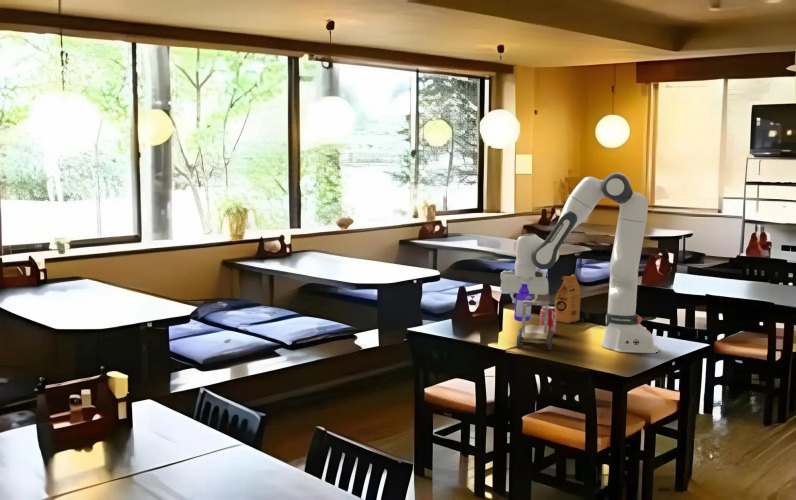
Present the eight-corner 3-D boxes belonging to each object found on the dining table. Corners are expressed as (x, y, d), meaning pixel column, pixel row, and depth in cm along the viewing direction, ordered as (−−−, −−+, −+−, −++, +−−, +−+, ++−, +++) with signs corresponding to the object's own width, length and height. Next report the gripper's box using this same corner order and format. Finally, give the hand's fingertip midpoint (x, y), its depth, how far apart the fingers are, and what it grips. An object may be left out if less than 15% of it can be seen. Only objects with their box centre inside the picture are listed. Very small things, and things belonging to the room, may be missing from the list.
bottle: (521, 322, 332) (525, 282, 330) (511, 319, 336) (514, 279, 334) (532, 321, 337) (536, 281, 335) (522, 318, 341) (526, 278, 339)
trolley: (552, 342, 330) (554, 296, 328) (550, 351, 314) (552, 302, 312) (519, 340, 333) (521, 294, 331) (516, 348, 317) (518, 300, 315)
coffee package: (550, 320, 376) (552, 275, 374) (564, 317, 385) (566, 273, 383) (568, 324, 370) (570, 277, 367) (582, 320, 379) (584, 275, 376)
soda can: (554, 332, 350) (555, 305, 349) (556, 336, 343) (557, 308, 342) (538, 331, 351) (539, 305, 349) (539, 335, 344) (541, 308, 342)
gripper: (499, 271, 333) (498, 303, 335) (549, 274, 329) (547, 306, 330) (501, 269, 339) (499, 300, 341) (549, 272, 335) (547, 304, 336)
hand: (523, 303), depth 336 cm, fingers closed on bottle, 7 cm apart
